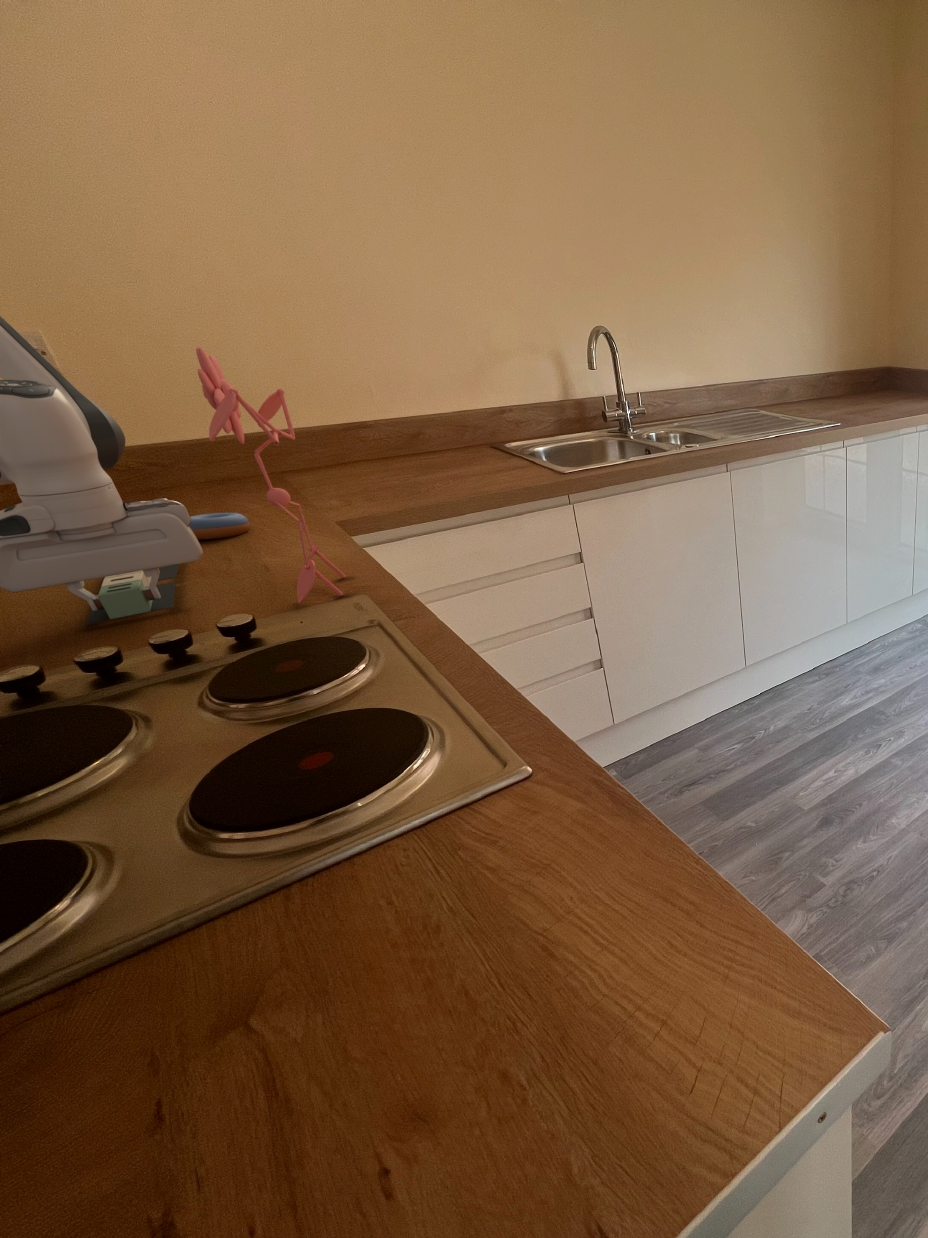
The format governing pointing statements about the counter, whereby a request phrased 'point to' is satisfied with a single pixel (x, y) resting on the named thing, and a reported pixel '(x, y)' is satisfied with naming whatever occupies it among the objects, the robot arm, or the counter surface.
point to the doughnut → (218, 525)
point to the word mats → (157, 604)
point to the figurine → (258, 450)
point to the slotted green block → (124, 599)
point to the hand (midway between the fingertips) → (127, 603)
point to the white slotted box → (126, 579)
